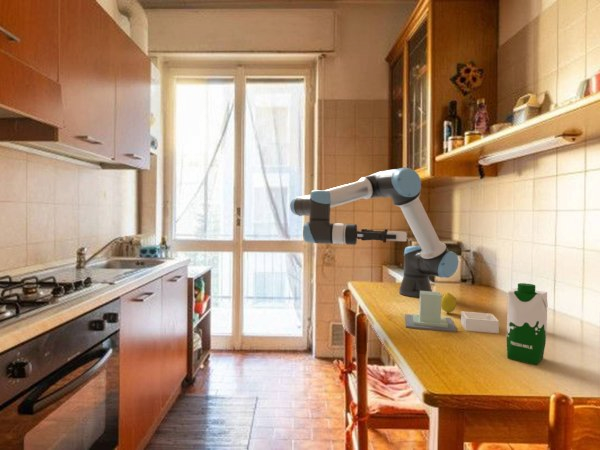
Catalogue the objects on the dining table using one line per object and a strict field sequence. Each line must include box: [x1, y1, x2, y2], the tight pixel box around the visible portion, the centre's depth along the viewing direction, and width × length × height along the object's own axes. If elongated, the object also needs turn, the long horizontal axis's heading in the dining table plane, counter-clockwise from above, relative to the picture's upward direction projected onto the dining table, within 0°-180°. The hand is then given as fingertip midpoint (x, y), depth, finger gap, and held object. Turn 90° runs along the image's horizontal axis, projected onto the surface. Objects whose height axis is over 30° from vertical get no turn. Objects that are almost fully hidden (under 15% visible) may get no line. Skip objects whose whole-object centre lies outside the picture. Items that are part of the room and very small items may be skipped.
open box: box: [460, 310, 500, 334], centre depth 134 cm, size 10×10×4 cm
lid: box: [411, 291, 448, 328], centre depth 138 cm, size 11×11×10 cm
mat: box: [404, 313, 458, 333], centre depth 138 cm, size 16×16×1 cm
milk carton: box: [506, 282, 548, 366], centre depth 106 cm, size 9×9×20 cm
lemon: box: [441, 292, 457, 314], centre depth 153 cm, size 6×6×8 cm
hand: (406, 236), depth 139 cm, fingers open, 13 cm apart
